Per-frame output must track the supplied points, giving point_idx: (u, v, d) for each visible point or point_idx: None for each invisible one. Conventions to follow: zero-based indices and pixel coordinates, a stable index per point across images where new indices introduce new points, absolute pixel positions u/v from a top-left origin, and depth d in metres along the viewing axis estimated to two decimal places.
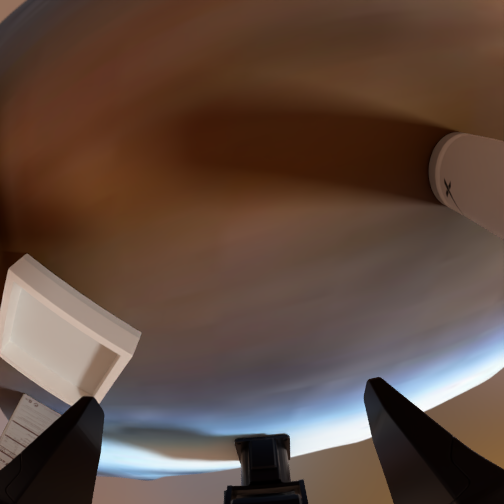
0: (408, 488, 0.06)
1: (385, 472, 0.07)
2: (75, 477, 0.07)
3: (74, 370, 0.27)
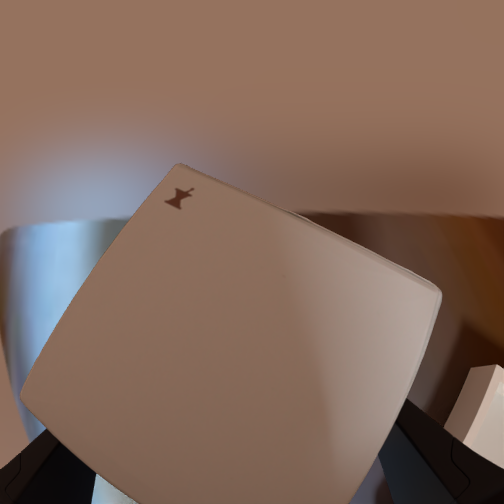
0: (408, 488, 0.06)
1: (385, 472, 0.07)
2: (74, 476, 0.07)
3: None
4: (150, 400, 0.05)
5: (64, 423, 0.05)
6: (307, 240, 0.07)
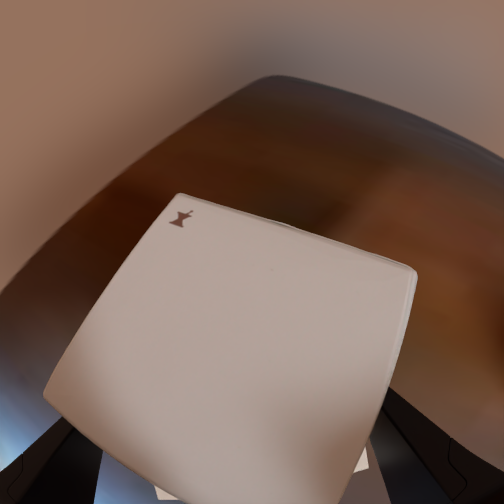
0: (406, 489, 0.06)
1: (383, 473, 0.07)
2: (77, 477, 0.07)
3: None
4: (164, 380, 0.06)
5: (84, 412, 0.06)
6: (289, 241, 0.08)
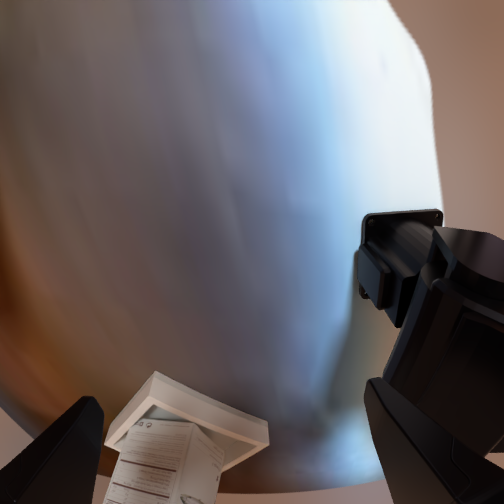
0: (408, 488, 0.06)
1: (385, 472, 0.07)
2: (75, 477, 0.07)
3: (219, 432, 0.28)
4: None
5: None
6: None
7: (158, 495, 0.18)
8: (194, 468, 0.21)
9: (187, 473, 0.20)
